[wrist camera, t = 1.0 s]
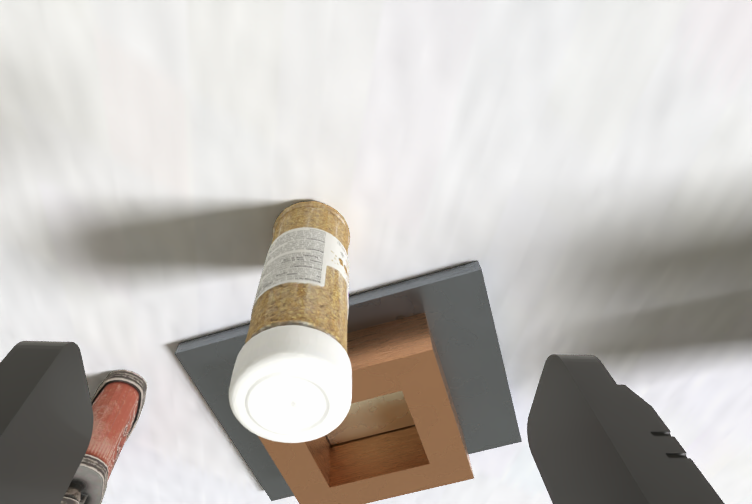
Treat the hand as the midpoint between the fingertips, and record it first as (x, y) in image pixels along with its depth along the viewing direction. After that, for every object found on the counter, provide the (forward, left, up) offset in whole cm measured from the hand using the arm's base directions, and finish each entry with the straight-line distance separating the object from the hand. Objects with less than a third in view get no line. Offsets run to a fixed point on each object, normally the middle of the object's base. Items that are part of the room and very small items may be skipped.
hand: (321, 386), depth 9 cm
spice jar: (+4, +7, -21) cm, 22 cm away
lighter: (+22, +16, -21) cm, 34 cm away
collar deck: (+5, +20, -20) cm, 29 cm away
